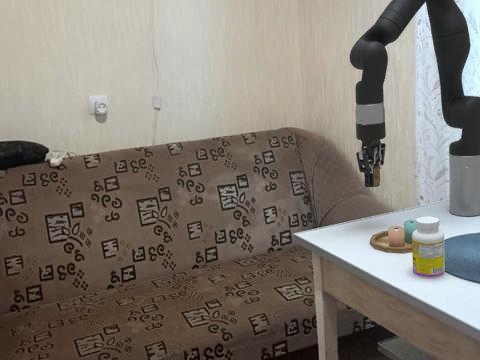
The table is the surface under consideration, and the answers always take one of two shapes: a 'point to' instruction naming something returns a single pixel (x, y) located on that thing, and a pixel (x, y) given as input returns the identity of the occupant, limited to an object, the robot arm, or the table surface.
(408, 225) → the bead
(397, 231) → the bead
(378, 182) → the bead
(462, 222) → the table surface
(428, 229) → the supplement bottle
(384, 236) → the tray
